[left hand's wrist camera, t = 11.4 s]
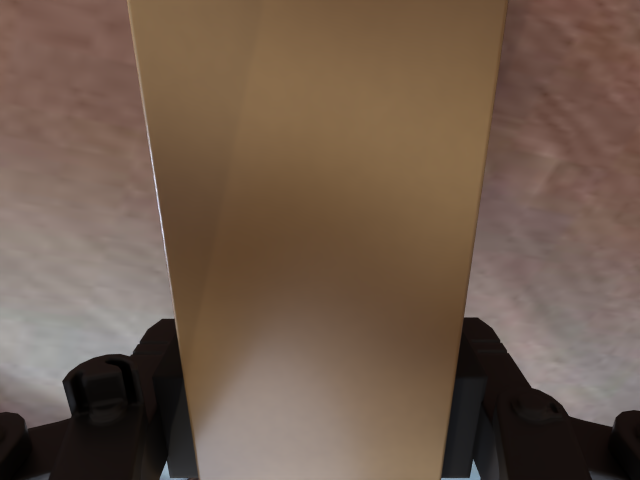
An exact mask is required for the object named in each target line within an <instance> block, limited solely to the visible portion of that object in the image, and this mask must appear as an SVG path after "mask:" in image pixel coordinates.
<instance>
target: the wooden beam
mask: <svg viewBox="0 0 640 480" xmlns="http://www.w3.org/2000/svg"><path fill="white" fill-rule="evenodd" d="M508 1H509V0H127V5H128V12H129V19H130V25H131V32H132V39H133V45H134V52H135V58H136V65H137V72H138V78H139V85H140V92H141V98H142V105H143V112H144V118H145V125H146V132H147V138H148V145H149V152H150V158H151V165H152V171H153V178H154V185H155V191H156V198H157V205H158V211H159V218H160V225H161V231H162V238H163V245H164V251H165V258H166V265H167V271H168V278H169V284H170V291H171V298H172V304H173V311H174V318H175V324H176V331H177V338H178V344H179V351H180V358H181V364H182V371H183V378H184V384H185V391H186V397H187V404H188V411H189V417H190V424H191V431H192V437H193V444H194V451H195V457H196V464H197V471H198V477H199V480H441V475H442V468H443V461H444V454H445V447H446V440H447V433H448V426H449V418H450V411H451V404H452V397H453V390H454V383H455V376H456V369H457V362H458V355H459V348H460V341H461V333H462V326H463V319H464V312H465V305H466V298H467V291H468V284H469V277H470V270H471V263H472V256H473V248H474V241H475V234H476V227H477V220H478V213H479V206H480V199H481V192H482V185H483V178H484V171H485V163H486V156H487V149H488V142H489V135H490V128H491V121H492V114H493V107H494V100H495V93H496V86H497V78H498V71H499V64H500V57H501V50H502V43H503V36H504V29H505V22H506V15H507V8H508Z"/></svg>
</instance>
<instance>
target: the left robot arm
mask: <svg viewBox="0 0 640 480" xmlns="http://www.w3.org/2000/svg"><path fill="white" fill-rule="evenodd" d="M62 382H63V386H64V389H65V393H66V396H67V400H68V404H69V407H70V411H71V414H72V416H71V418H69V419H66V420H63V421H59V422H55V423H51V424H46V425H42V426H38V427H33V428H29V429H27V426H26V423H25V420H24V419H23V418H22V417H21V416H20V415H19V414H16V413H10V412H3V413H0V480H160V476H161V473H162V471H163V468H164V466H165V463H166V461H167V464H168V469H169V475H170V478H199V477H198V471H197V464H196V457H195V451H194V444H193V437H192V431H191V424H190V417H189V411H188V404H187V397H186V391H185V384H184V378H183V371H182V364H181V358H180V351H179V344H178V338H177V331H176V324H175V319H161V320H160V321H159V322H157V323H156V324H155V325H153V326H152V327H151V328H149V329H148V330H147V332H146V333H145V335H144V336H143V338H142V339H141V341H140V344H138V345H137V347H136V348H135V350H134V351H133V355H131V356H126V355H122V354H108V355H103V356H99V357H95V358H92V359H90V360H88V361H86V362H83V363H81V364H79V365H78V366H77V367H75V368H74V369H73V370H71V371H70V372H69V373H68V374H67V376H66V377H65V378H64V380H63V381H62ZM473 459H474V462H475V464H476V467H477V470H478V472H479V475H480V477H481V479H480V480H640V411H636V410H632V411H625V412H622V413H621V414H619V415H618V416H617V417H616V419H615V422H614V425H613V427H610V426H605V425H601V424H597V423H592V422H588V421H584V420H580V419H576V418H573V417H570V416H568V414H567V412H566V411H565V409H564V408H563V406H562V405H561V404H560V403H559V402H557V401H556V400H555V399H554V398H553V397H551V396H549V395H547V394H546V393H544V392H542V391H540V390H537V389H533V388H531V386H530V385H529V383H528V382H527V380H526V379H525V377H524V376H523V374H522V372H521V371H520V369H519V368H518V366H517V365H516V363H515V362H514V360H513V359H512V357H511V356H510V354H509V353H507V350H506V348H505V347H504V345H503V344H502V343H500V339H499V338H498V336H497V335H496V333H495V332H494V330H493V329H492V328H491V327H490V326H488V325H487V324H486V323H484V322H483V321H482V320H480V319H479V318H464V319H463V326H462V333H461V341H460V348H459V355H458V362H457V369H456V376H455V383H454V390H453V397H452V404H451V411H450V418H449V426H448V433H447V440H446V447H445V454H444V461H443V468H442V475H441V478H470V473H471V468H472V462H473Z"/></svg>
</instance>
